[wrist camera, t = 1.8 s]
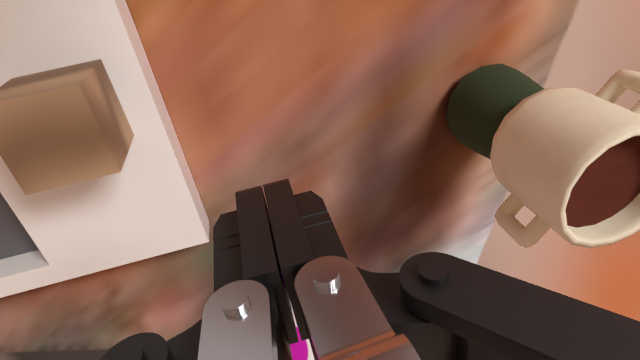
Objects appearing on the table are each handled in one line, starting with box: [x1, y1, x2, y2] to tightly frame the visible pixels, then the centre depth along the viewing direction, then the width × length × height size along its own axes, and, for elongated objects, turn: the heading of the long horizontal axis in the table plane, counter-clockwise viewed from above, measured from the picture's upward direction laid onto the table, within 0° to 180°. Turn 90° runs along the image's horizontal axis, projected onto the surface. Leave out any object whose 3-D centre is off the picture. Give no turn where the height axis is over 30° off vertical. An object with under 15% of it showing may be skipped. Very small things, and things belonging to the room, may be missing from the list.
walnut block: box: [0, 59, 134, 195], centre depth 21 cm, size 4×4×4 cm
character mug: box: [446, 64, 640, 248], centre depth 26 cm, size 11×7×13 cm, turn 148°
